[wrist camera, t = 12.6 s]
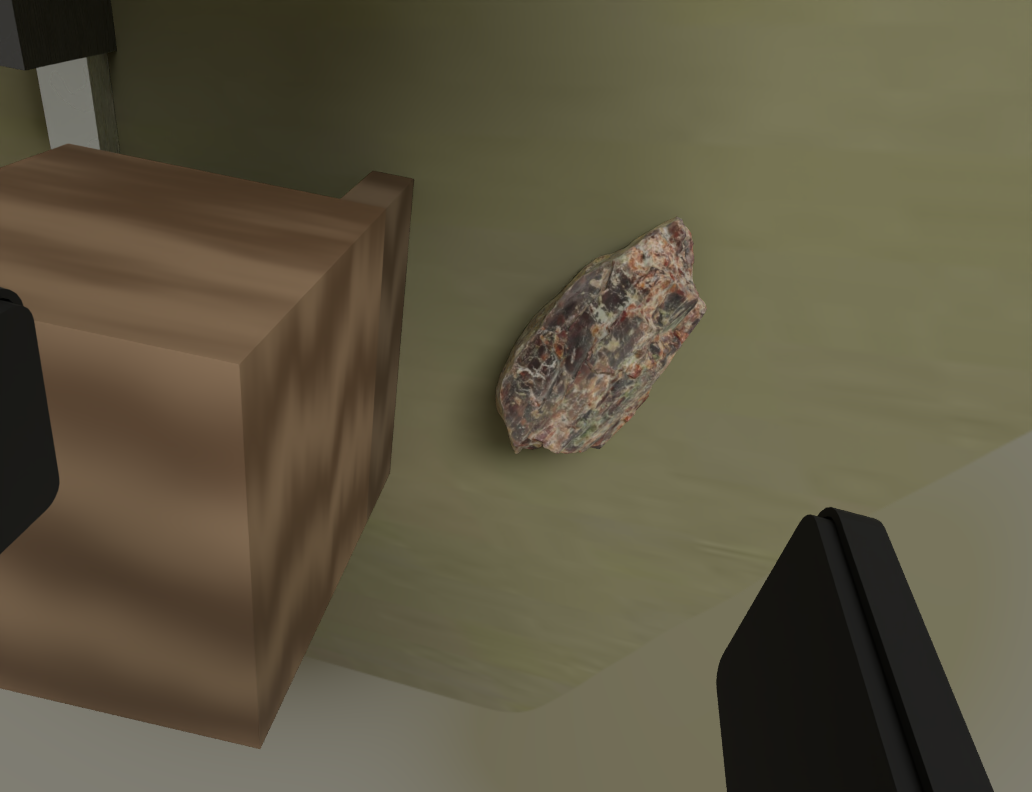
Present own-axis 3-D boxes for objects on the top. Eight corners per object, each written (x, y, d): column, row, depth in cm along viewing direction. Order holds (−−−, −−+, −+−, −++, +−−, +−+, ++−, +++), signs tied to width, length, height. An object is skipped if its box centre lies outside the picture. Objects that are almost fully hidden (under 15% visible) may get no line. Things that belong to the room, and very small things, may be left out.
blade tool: (21, -94, 31) (-99, -100, 26) (100, -78, 31) (-5, -81, 26) (93, 324, 42) (19, 377, 37) (153, 336, 42) (86, 391, 37)
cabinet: (129, 121, 35) (-254, 258, 20) (413, 179, 35) (239, 364, 20) (166, 424, 45) (-74, 671, 30) (389, 473, 45) (260, 749, 29)
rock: (472, 467, 36) (680, 501, 33) (454, 243, 30) (706, 262, 27) (514, 394, 42) (695, 418, 39) (507, 193, 36) (720, 205, 33)
